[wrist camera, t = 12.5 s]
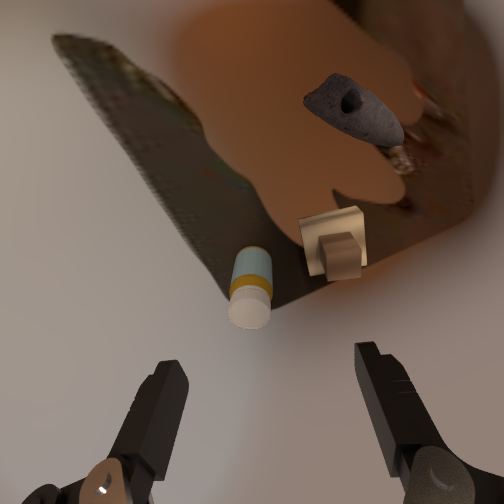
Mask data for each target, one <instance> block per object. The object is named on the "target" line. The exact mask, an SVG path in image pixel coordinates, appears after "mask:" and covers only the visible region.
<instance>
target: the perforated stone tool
mask: <svg viewBox="0 0 504 504" xmlns="http://www.w3.org/2000/svg"><path fill="white" fill-rule="evenodd" d="M303 104H304V106H305V107H306V108H307V109H308V110H310V111H311V112H312V113H314V114H315V115H316V116H318V117H320V118H321V119H322V120H324V121H325V122H327V123H328V124H330V125H332V126H334V127H335V128H337V129H339V130H340V131H343V132H344V133H346V134H348V135H350V136H352V137H355V138H357V139H360V140H362V141H365V142H368V143H371V144H375V145H380V146H386V147H394V146H400V145H402V143H403V140H404V132H403V129H402V127H401V125H400V123H399V121H398V120H397V118H396V117H395V115H394V114H393V112H392V111H391V110H390V109H388V108H387V107H386V106H385V105H384V104H383V103H382V102H381V101H380V99H378V98H377V97H376V96H375V95H374V94H373V93H371V92H370V91H369V90H367V89H366V90H365V89H364V88H362V87H361V86H360V85H358V84H357V83H356V82H355V81H353V80H352V79H351V78H348V77H346V76H342V75H339V74H336V73H335V74H332V75H331V76H329V77H328V78H327V79H326V81H325V82H324V83H323V84H321V86H319V88H317V89H315V91H313V92H312V93H308V95H306V96H305V97H304V101H303Z"/></svg>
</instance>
